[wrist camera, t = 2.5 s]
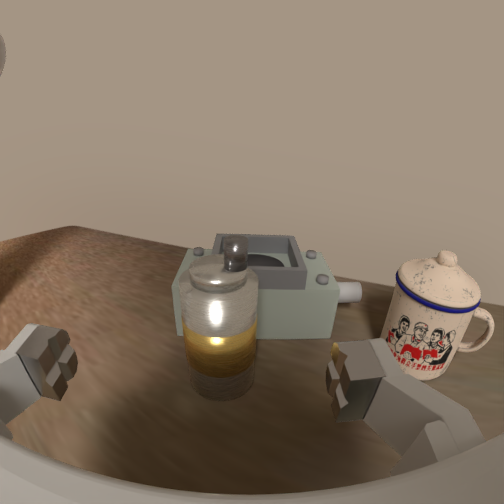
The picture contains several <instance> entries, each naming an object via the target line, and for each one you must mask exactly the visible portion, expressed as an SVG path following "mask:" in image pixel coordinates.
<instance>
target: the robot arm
mask: <svg viewBox="0 0 504 504" xmlns="http://www.w3.org/2000/svg"><path fill="white" fill-rule="evenodd" d="M5 57H6V51H5V43H4V40H3V38H2V36H1V35H0V76H1V73H2V71H3V68H4V64H5ZM69 343H70V338H69V335H68V333H67V331H65V330H63V329H59V328H53V327H48V326H44V325H38V324H33V323H30V324H27V325H26V326H25V327H24V328H23V330H22V331H21V332H20V333H19V334H18V335H17V337H16V338H15V339H14V340H13V341H12V342H11V344H10V345H9V346H8V347H7V348H6V350H5V351H4V350H1V351H0V504H504V433H502V434H500V435H498V436H496V437H494V438H492V439H490V440H488V441H485V439H484V437H483V435H482V433H481V431H480V430H479V428H478V426H477V424H476V422H475V421H474V419H473V417H472V415H471V414H470V412H469V410H468V409H466V408H465V407H463V406H461V405H460V404H458V403H456V402H455V401H453V400H451V399H449V398H448V397H446V396H444V395H443V394H441V393H439V392H438V391H436V390H434V389H433V388H431V387H429V386H428V385H426V384H424V383H423V382H421V381H419V380H418V379H416V378H415V377H413V376H411V375H410V374H403V372H402V370H401V368H400V366H399V364H398V363H397V361H396V359H395V357H394V355H393V354H392V352H391V350H390V348H389V346H388V345H387V343H386V341H385V340H384V339H383V338H376V339H367V340H360V341H347V342H334V344H333V345H332V348H331V356H332V361H331V362H329V363H328V365H327V370H326V387H327V391H328V394H329V395H330V396H332V397H333V401H332V404H331V407H332V411H333V414H334V418H335V422H346V421H355V420H363V419H364V420H363V421H364V422H365V423H366V424H367V425H368V426H369V427H370V428H371V429H372V430H373V431H374V432H376V433H377V434H378V435H379V436H380V437H381V438H382V439H383V440H384V441H385V442H386V443H387V444H388V445H390V446H391V447H392V448H393V449H394V450H395V451H396V452H397V453H398V454H399V455H400V456H402V457H401V459H400V460H399V461H398V462H397V464H396V465H395V466H394V467H393V468H392V470H391V471H390V474H391V477H387V478H383V479H379V480H375V481H371V482H366V483H361V484H356V485H351V486H345V487H339V488H332V489H325V490H317V491H308V492H298V493H284V494H255V495H245V494H216V493H202V492H192V491H183V490H175V489H168V488H161V487H155V486H149V485H144V484H139V483H134V482H130V481H125V480H121V479H117V478H113V477H109V476H105V475H101V474H98V473H94V472H91V471H88V470H85V469H81V468H78V467H75V466H72V465H69V464H67V463H64V462H61V461H58V460H56V459H53V458H50V457H48V456H45V455H43V454H41V453H38V452H36V451H34V450H31V449H29V448H27V447H25V446H22V445H20V444H18V443H16V442H14V441H12V438H13V435H12V433H11V431H10V430H9V429H8V428H7V427H6V424H8V423H9V422H10V421H11V420H13V419H14V418H15V417H16V416H18V415H19V414H20V413H22V412H23V411H24V410H25V409H27V408H28V407H29V406H31V405H32V404H33V403H34V402H36V401H37V400H38V399H40V398H41V396H43V397H46V398H50V399H54V400H57V401H61V399H62V397H63V395H64V394H65V392H66V390H67V388H68V384H67V381H69V380H70V379H72V378H73V377H74V375H75V373H76V371H77V365H78V361H77V356H76V353H75V351H74V349H73V348H72V347H71V346H70V345H69Z"/></svg>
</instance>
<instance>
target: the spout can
mask: <svg viewBox="0 0 504 504" xmlns="http://www.w3.org/2000/svg"><path fill="white" fill-rule="evenodd" d="M247 263H248V238H247V237H245V236H241V235H230V236H227V237H225V238H224V254H214V255H206V256H203V257H200V258H197V259H195V260H194V261H192V262H191V264H190V265H189V269H187V270H186V271H184V272H183V273H182V274H181V275H180V277H179V292H180V303H181V312H182V315H181V318H182V327H183V335H184V343H185V350H186V357H187V361H188V367H189V374H190V381H191V384H192V386H193V388H194V389H195V390H196V392H198V393H199V394H200V395H202V396H203V397H206V398H208V399H212V400H218V401H226V400H232V399H235V398H238V397H240V396H242V395H244V394H245V393H246V392H247V391H248V390H249V389H250V387H251V386H252V383H253V376H254V359H255V350H256V332H257V300H258V277H257V275H256V273H255V272H254V271H252V270H251V269H249V268H247Z"/></svg>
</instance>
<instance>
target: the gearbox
mask: <svg viewBox="0 0 504 504" xmlns="http://www.w3.org/2000/svg"><path fill="white" fill-rule="evenodd" d="M230 235H241V236H245V237H247V238H248V263H247V268H249V269H251V270H252V271H254V272H255V273H256V275H257V277H258V300H257V332H256V339H323V338H330V336H331V332H332V328H333V323H334V319H335V314H336V309H337V304H338V303H359V302H360V300H361V296H362V288H361V284H360V283H359V282H336V280H335V278H334V276H333V274H332V273H331V271H330V269H329V267H328V265H327V263H326V261H325V259H324V258H323V256H322V254H321V252H316V251H313V250H308V251H307V252H300V250H299V247H298V245H297V242H296V240H295V237H294V236H283V235H282V236H281V235H250V234H217V235H216V239H215V243H214V246H213V249H203V248H201V247H197V248H194V249H188V250H187V253H186V255H185V257H184V259H183V261H182V264H181V266H180V268H179V270H178V273H177V275H176V277H175V279H174V282H173V284H172V296H173V304H174V313H175V321H176V328H177V335H178V336H184V335H183V327H182V318H181V315H182V312H181V303H180V292H179V277H180V275H181V274H182V273H183V272H184V271H186V270H187V269H189V265H190V264H191V262H192V261H194V260H195V259H197V258H200V257H203V256H206V255H214V254H224V238H225V237H227V236H230Z"/></svg>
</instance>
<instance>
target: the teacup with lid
mask: <svg viewBox="0 0 504 504" xmlns="http://www.w3.org/2000/svg"><path fill="white" fill-rule="evenodd" d="M456 263H457V256H456V255H455V254H454V253H452V252H450V251H445V250H442V251H440V252H439V253H438V257H437V258H428V259H414V260H409V261H407V262H405V263H403V264H402V265H401V266H400V268H399V269H398V271H397V273H396V281H397V282H396V286H395V289H394V293H393V297H392V300H391V304H390V307H389V310H388V314H387V317H386V320H385V323H384V326H383V329H382V332H381V335H380V338H383V339H384V340H385V341H386V343H387V345H388V346H389V348H390V350H391V352H392V354H393V355H394V357H395V359H396V361H397V363H398V364H399V366H400V368H401V370H402V372H403V374H410V375H411V376H413V377H415V378H416V379H418V380H430V379H434V378H436V377H438V376H440V375H441V374H443V373H444V372H445V371H446V369H447V368H448V366H449V364H450V362H451V360H452V358H453V356H454V354H455V352H456V351H460V352H474V351H476V350H478V349H480V348H481V347H483V346H484V345H485V344H486V343H487V342H488V341H489V339H490V338H491V336H492V334H493V331H494V321H493V318H492V316H491V314H490V313H489V312H488V311H486V310H484V309H482V308H478V306H479V304H480V297H481V293H480V289H479V286H478V284H477V283H476V282H475V280H474V279H472V277H470V276H469V275H468V274H467V273H465V272H464V271H463V269H462V268H461V267H459V266H458V265H457V264H456ZM472 316H473V317H477V318H480V319H483V320H484V321H486V322H487V324H488V327H487V329H486V331H485V333H484V334H483V335H482V336H481V337H480V338H479V339H477V340H476V341H473V342H469V343H466V342H461V340H462V338H463V335H464V333H465V331H466V329H467V327H468V324H469V322H470V320H471V317H472Z"/></svg>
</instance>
